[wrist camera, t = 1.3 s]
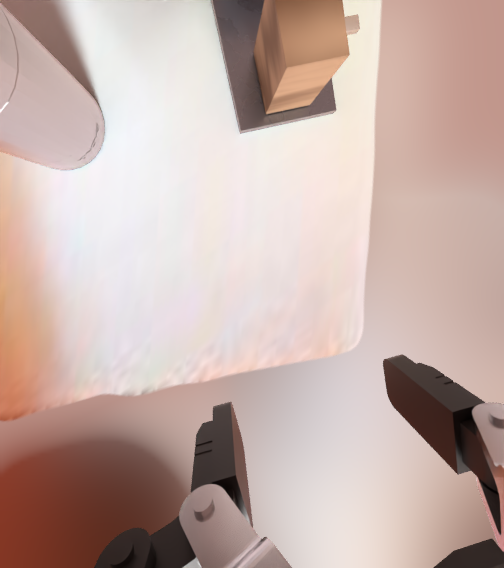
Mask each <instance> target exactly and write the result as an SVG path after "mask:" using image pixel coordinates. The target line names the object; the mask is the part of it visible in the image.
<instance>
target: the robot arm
mask: <svg viewBox="0 0 504 568" xmlns="http://www.w3.org/2000/svg"><path fill="white" fill-rule="evenodd" d="M104 134H105V126H104V119H103V116H102V112H101V110H100V108H99V106H98V104H97V102H96V101H95V99H94V98H93V96H92V95H91V94H90V93H89V92H88V91H87V90H86V89H85V88H84V87H83V86H82V85H81V84H80V83H79V82H78V81H77V80H76V79H75V78H74V76H73V75H72V74H71V73H70V72H69V71H68V70H67V69H66V68H65V67H64V66H63V65H62V64H61V63H60V62H59V61H58V60H57V59H56V58H55V57H54V56H53V55H52V54H51V53H50V52H49V51H48V50H47V49H46V48H45V47H44V46H43V45H42V44H41V43H40V42H39V41H38V40H37V39H36V38H35V37H34V36H33V35H32V34H31V33H30V32H29V31H28V30H27V29H26V28H25V27H24V26H23V25H22V24H21V23H20V22H19V21H18V20H17V19H16V18H15V17H14V16H13V15H12V14H11V13H10V12H9V11H8V10H7V9H6V8H5V7H4V6H3V4H2V3H1V2H0V152H3V153H6V154H10V155H13V156H16V157H19V158H22V159H25V160H28V161H31V162H34V163H37V164H40V165H43V166H46V167H49V168H53V169H58V170H73V169H77V168H80V167H82V166H84V165H86V164H88V163H89V162H90V161H92V160H93V159H94V158H95V157H96V155H97V154H98V152H99V151H100V149H101V146H102V144H103V141H104ZM383 367H384V374H385V382H386V389H387V394H388V397H389V400H390V402H391V403H392V405H393V406H394V408H395V409H396V410H397V411H398V412H399V413H400V414H401V415H402V416H403V417H404V418H405V419H406V420H407V421H408V423H409V424H410V425H411V426H412V427H413V428H414V429H415V430H416V431H417V432H418V433H419V434H420V435H421V436H422V437H423V438H424V439H425V441H426V442H427V443H428V444H429V445H430V446H431V447H432V448H433V449H434V450H435V451H436V452H437V453H438V454H439V455H440V456H441V457H442V458H443V459H444V460H445V461H446V463H447V464H448V465H450V467H451V468H452V469H453V470H454V471H455V472H456V473H457V474H461V473H464V472H468V471H472V472H473V473H474V474H475V475H476V476H477V477H476V478H477V486H478V489H479V492H480V495H481V498H482V501H483V503H484V506H485V509H486V512H487V515H488V517H489V520H490V523H491V526H492V529H493V531H494V534H495V537H496V540H497V543H498V545H497V544H496V543H495V541H494V540H493V539H489V540H486V541H482V542H480V543H476V544H473V545H470V546H467V547H464V548H461V549H458V550H455V551H453V552H452V553H451V554H450V555H448V556H447V557H446V558H445V559H443V560H442V561H441V562H440V563H439V564H437V565H436V566H435V567H434V568H504V404H500V403H485V402H484V401H482V400H481V399H479V398H478V397H476V396H475V395H473V394H472V393H470V392H469V391H467V390H466V389H464V388H463V387H461V386H460V385H459V384H457V383H454V382H453V380H451V379H450V378H448V377H445V376H444V374H442V373H441V372H439V371H438V370H436V369H435V368H433V367H430V366H427V365H424V364H422V363H418V364H416V363H414V362H413V361H411V360H410V359H408V358H407V357H406V356H404V355H399V356H395V357H391V358H388V359H384V361H383ZM94 568H292V567H291V566H290V565H289V563H288V562H287V561H286V559H285V558H284V557H283V555H282V554H281V553H280V552H279V550H278V549H277V548H276V546H275V545H274V544H273V543H272V542H271V541H270V540H269V539H268V538H267V537H264V538H263V539H261V538H260V537H259V536H258V534H257V533H256V532H255V530H254V529H253V523H252V514H251V506H250V497H249V488H248V480H247V471H246V463H245V454H244V447H243V442H242V437H241V433H240V430H239V426H238V423H237V419H236V415H235V412H234V408H233V405H232V402H228V403H224V404H221V405H217V406H214V407H213V421H209V422H206V423H203V424H202V426H201V427H200V429H199V431H198V433H197V435H196V447H195V457H194V465H193V475H192V486H191V493H190V495H189V496H188V497H187V498H186V499H185V501H184V502H183V504H182V506H181V509H180V513H179V516H178V517H177V518H176V519H175V520H174V521H172V522H171V523H170V524H168V525H166V526H165V527H163V528H162V529H160V530H159V531H157V532H155V533H154V534H152V535H151V536H149V534H148V532H147V531H146V530H144V529H141V528H133V529H129V530H127V531H124V532H123V533H121V534H119V535H118V536H117V537H115V538H114V539H113V540H112V541H111V542H110V543H109V544H108V545H107V546H106V548H105V549H104V550H103V552H102V553H101V555H100V556H99V559H98V560H97V563H96V565H95V567H94Z"/></svg>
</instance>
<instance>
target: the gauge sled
mask: <svg viewBox="0 0 504 568" xmlns="http://www.w3.org/2000/svg"><path fill="white" fill-rule="evenodd" d="M359 29H360V26H359V18H358V15H353V16H348V17H344V10H343V2H342V0H264V5H263V10H262V14H261V19H260V24H259V29H258V33H257V38H256V43H255V48H254V57H255V62H256V67H257V72H258V77H259V83H260V88H261V93H262V98H263V103H264V108H265V113H266V114H270V113H275V112H280V111H284V110H289V109H294V108H298V107H303V106H307V105H310V104H311V103H312V102H313V100H314V99H315V98H316V97H317V95H318V94H319V93H320V91H321V90H322V89H323V88H324V86H325V85H326V84H327V83H328V81H329V80H330V79H331V78H332V76H333V75H334V74H335V72H336V71H337V70H338V69H339V67H340V66H341V65H342V64H343V62H344V61H345V60H346V58H347V57H348V56H349V47H348V40H347V35H350V34H355V33H357V32H358V30H359Z"/></svg>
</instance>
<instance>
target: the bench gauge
mask: <svg viewBox="0 0 504 568" xmlns="http://www.w3.org/2000/svg"><path fill="white" fill-rule="evenodd" d="M211 2H212V7H213V11H214V16H215V20H216V25H217V30H218V34H219V39H220V43H221V48H222V52H223V57H224V62H225V66H226V71H227V75H228V80H229V85H230V89H231V94H232V98H233V103H234V107H235V112H236V117H237V121H238V126H239V130H240V134H241V133H245V132H250V131H254V130H259V129H264V128H268V127H273V126H277V125H282V124H287V123H291V122H296V121H300V120H305V119H309V118H314V117H319V116H323V115H328V114H332V113H334V112H335V111H336V105H335V98H334V91H333V85H332V78H331V79H330V80H329V81H328V83H327V84H326V85H325V86H324V88H323V89H322V90H321V91H320V93H319V94H318V95H317V97H316V98H315V99H314V100H313V102H312V103H311V104H310V105H307V106H303V107H298V108H294V109H289V110H284V111H280V112H275V113H270V114H266V113H265V108H264V103H263V98H262V93H261V88H260V83H259V77H258V72H257V67H256V62H255V57H254V48H255V43H256V38H257V33H258V29H259V24H260V19H261V14H262V10H263V5H264V0H211Z"/></svg>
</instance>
